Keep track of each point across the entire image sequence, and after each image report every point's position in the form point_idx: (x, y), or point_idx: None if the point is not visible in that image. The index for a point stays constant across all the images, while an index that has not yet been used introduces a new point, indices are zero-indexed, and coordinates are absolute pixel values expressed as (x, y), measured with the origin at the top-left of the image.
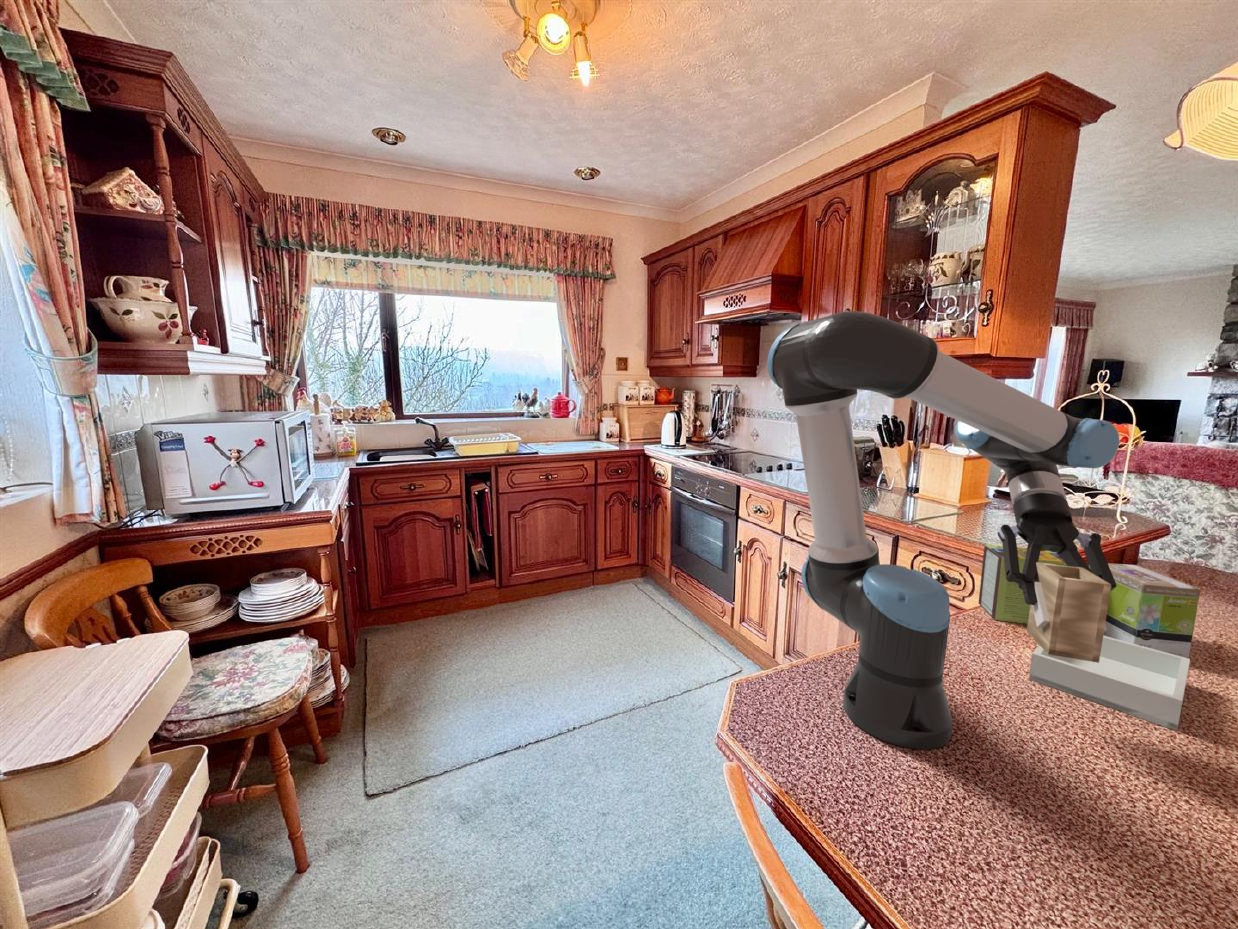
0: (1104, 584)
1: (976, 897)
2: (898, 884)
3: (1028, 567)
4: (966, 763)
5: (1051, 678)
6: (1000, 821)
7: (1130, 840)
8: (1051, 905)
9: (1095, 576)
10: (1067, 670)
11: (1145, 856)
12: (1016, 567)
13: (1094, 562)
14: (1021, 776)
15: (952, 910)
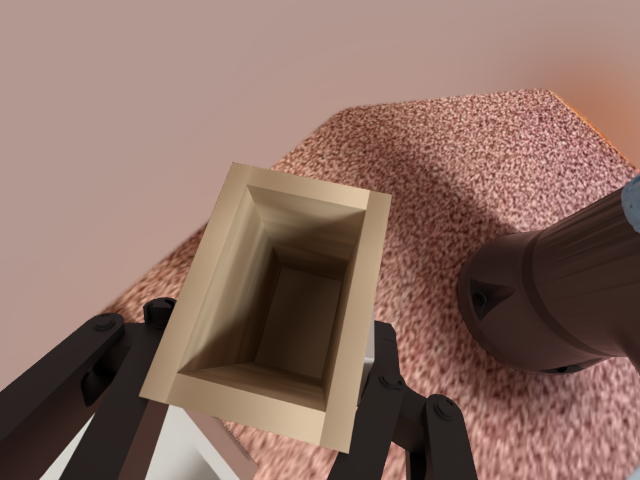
0: (252, 167)
1: (497, 103)
2: (546, 105)
3: (386, 433)
4: (458, 227)
5: (232, 446)
6: (454, 161)
7: (357, 156)
8: (450, 103)
9: (209, 247)
10: (211, 436)
11: (357, 144)
12: (441, 437)
13: (7, 465)
14: (408, 215)
15: (514, 94)
